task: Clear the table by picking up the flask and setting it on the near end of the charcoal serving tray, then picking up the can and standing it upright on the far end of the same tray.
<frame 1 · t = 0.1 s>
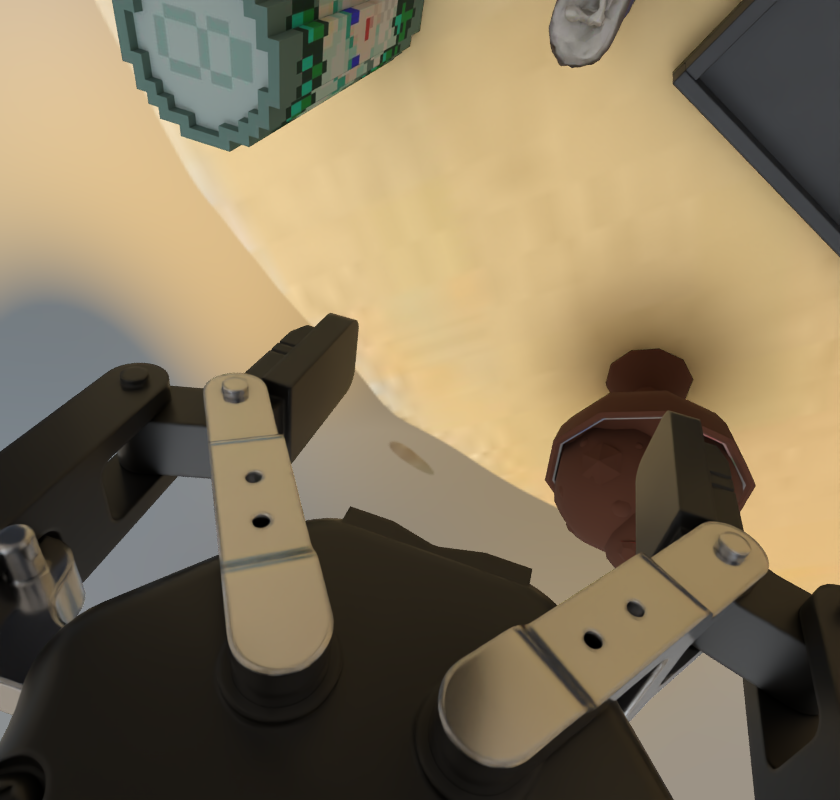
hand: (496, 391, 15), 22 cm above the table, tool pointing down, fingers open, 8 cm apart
ice cream bowl: (648, 379, 39), on the table
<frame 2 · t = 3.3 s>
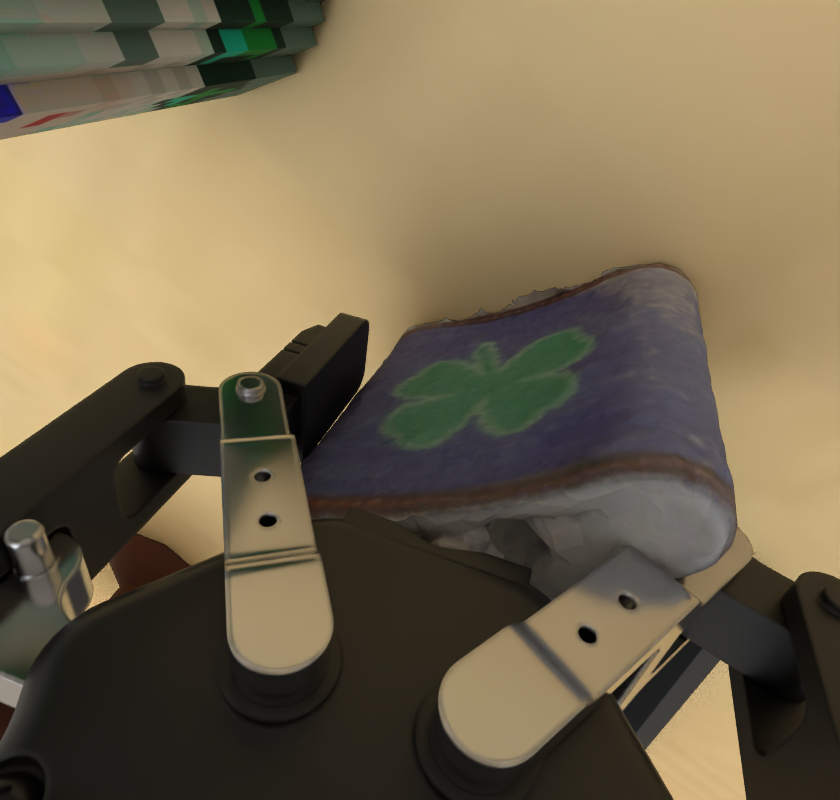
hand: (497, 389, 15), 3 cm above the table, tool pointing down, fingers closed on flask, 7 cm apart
tray: (489, 695, 28), on the table
flask: (530, 332, 17), on the table, touching gripper
ice cream bowl: (159, 568, 32), on the table
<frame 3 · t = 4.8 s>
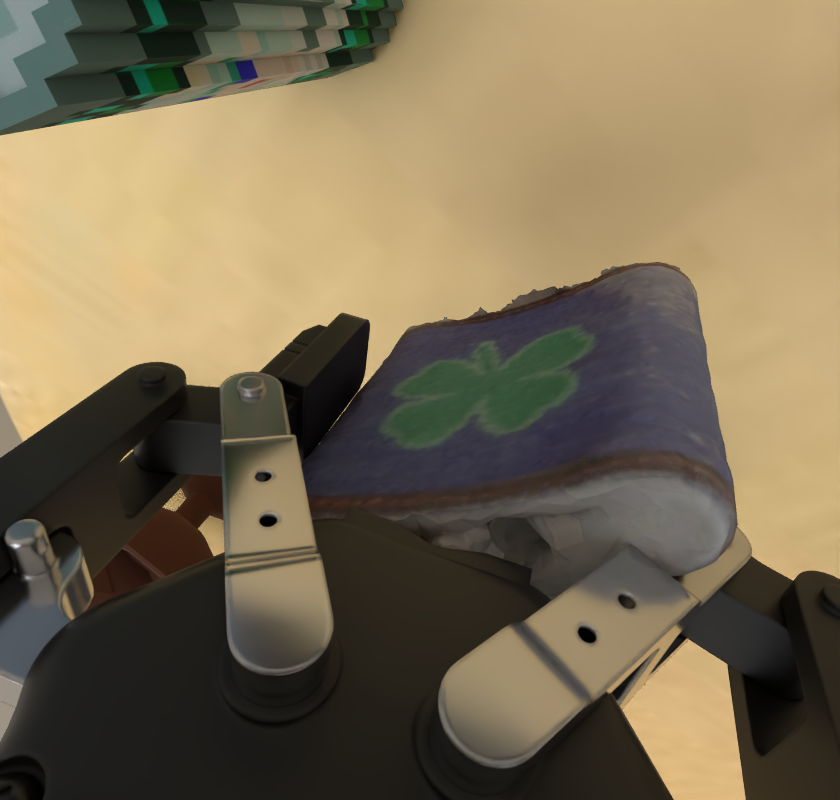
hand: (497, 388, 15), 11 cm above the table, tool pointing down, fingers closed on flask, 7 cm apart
flask: (529, 331, 17), point 7 cm above the table, touching gripper
ice cream bowl: (219, 483, 38), on the table
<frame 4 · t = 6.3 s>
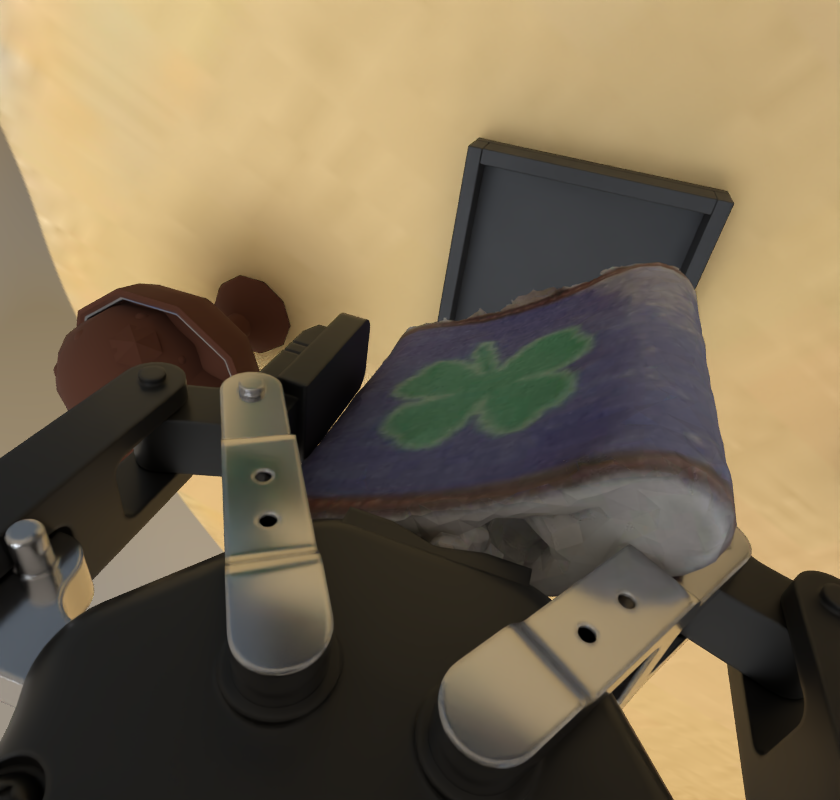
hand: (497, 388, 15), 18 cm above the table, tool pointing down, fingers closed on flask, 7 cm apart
tray: (530, 387, 35), on the table
flask: (529, 332, 17), point 14 cm above the table, touching gripper
ice cream bowl: (254, 313, 39), on the table
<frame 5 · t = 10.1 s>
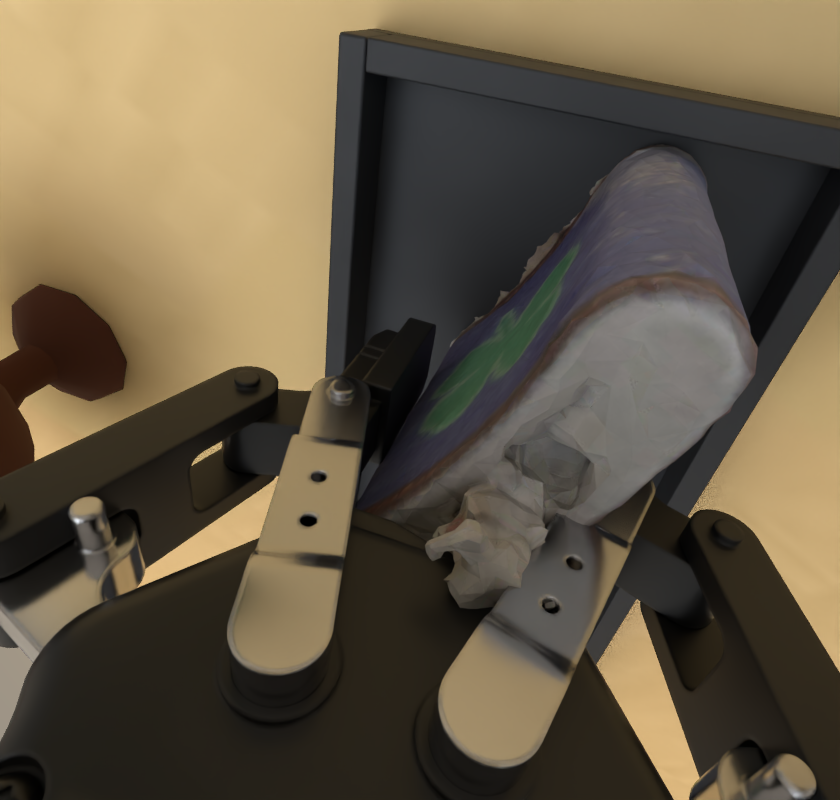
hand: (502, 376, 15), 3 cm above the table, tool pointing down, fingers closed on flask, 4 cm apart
tray: (492, 470, 21), on the table
flask: (559, 289, 16), resting on tray, touching gripper
ice cream bowl: (76, 342, 25), on the table
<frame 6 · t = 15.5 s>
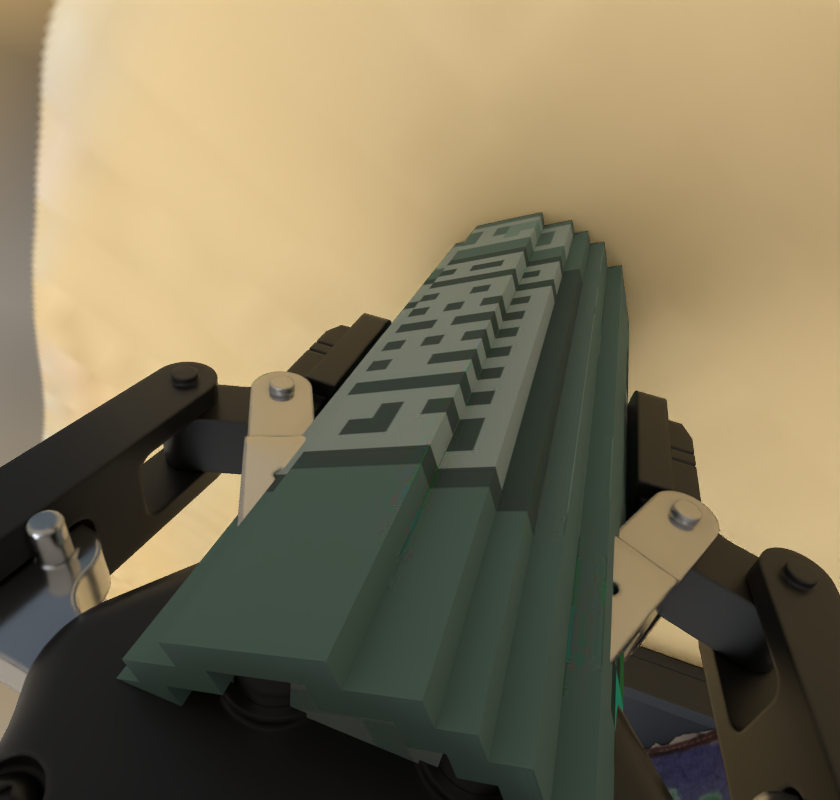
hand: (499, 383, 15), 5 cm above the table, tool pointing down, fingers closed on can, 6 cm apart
tray: (627, 798, 33), on the table
flask: (692, 747, 28), resting on tray
can: (528, 308, 19), on the table, touching gripper
when the fingers open (5 cm above the table, at t = 24.6 s): can stays where it is, resting on tray.
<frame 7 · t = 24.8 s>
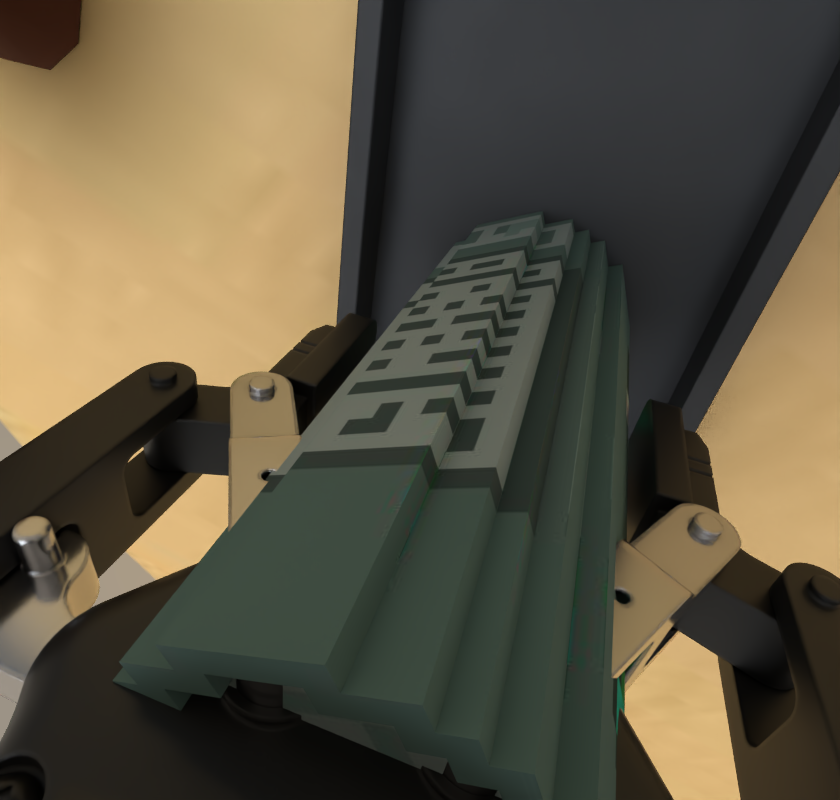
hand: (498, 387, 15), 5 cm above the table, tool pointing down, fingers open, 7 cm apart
tray: (596, 67, 15), on the table
can: (528, 307, 19), resting on tray
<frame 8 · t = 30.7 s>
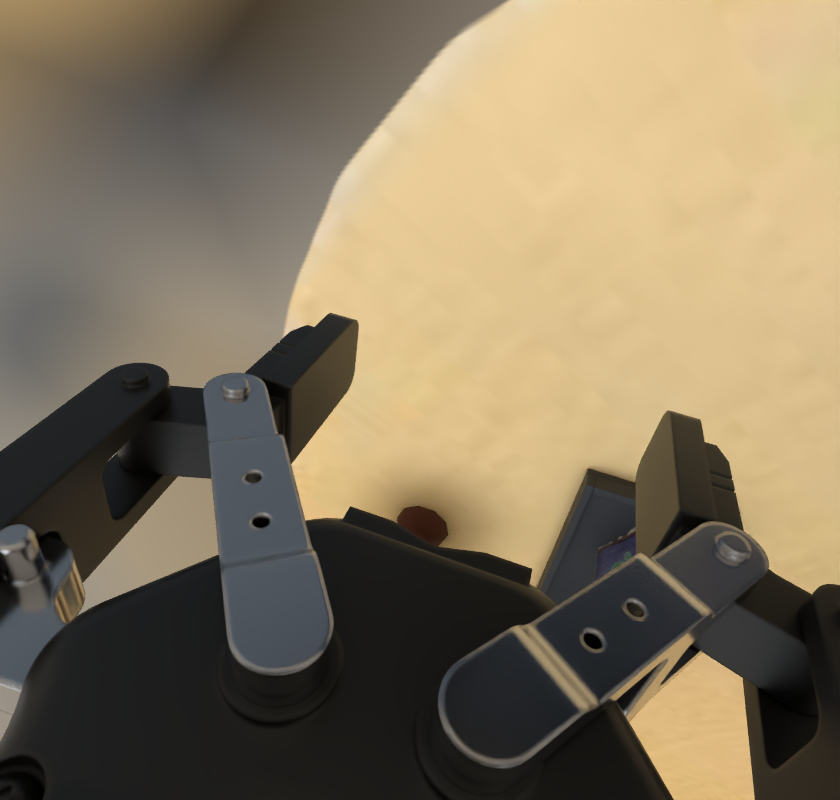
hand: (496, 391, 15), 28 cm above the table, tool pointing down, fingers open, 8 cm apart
tray: (606, 585, 56), on the table
flask: (639, 537, 51), resting on tray
ice cream bowl: (423, 524, 60), on the table
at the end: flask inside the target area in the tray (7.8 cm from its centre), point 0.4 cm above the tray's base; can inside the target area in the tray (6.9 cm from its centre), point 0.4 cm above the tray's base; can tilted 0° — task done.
